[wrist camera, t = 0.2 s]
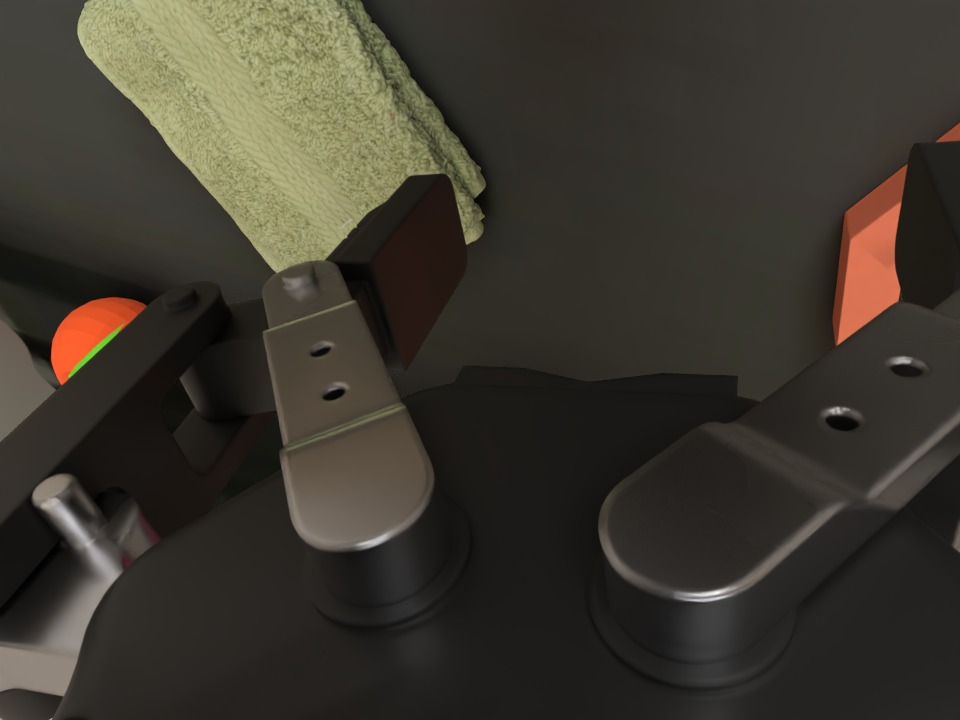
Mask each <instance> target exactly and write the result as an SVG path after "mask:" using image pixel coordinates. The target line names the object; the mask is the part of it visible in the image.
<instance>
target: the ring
mask: <svg viewBox="0 0 960 720" xmlns="http://www.w3.org/2000/svg"><path fill="white" fill-rule="evenodd" d="M946 141H960V123H959V124H957V125H956V126H955V127H954V128H952V129H951V130H950V131H948V132H947V133H946V134H945V135H943V136H942V137H941V138H940V139H938V140H937V141H936V142H946ZM907 165H908V164H906V165H905V166H904V167H902V168H901V169H900V170H899V171H897V172H896V173H895V174H893V175H892V176H891V177H890V178H888V179H887V180H886V181H885V182H883V183H882V184H881V185H879V186H878V187H877V188H876V189H874V190H873V191H872V192H870V193H869V194H868V195H867V196H865V197H864V198H863V199H861V200H860V201H859V202H858V203H856V204H855V205H854V206H853V207H851V208H850V209H849V210H847V211H846V212H845V216H844V225H843V233H842V242H841V250H840V259H839V268H838V276H837V285H836V293H835V302H834V310H833V319H832V322H833V330H834V338H835V346H837V345H838V344H840V343H841V342H842V341H844V340H845V339H846V338H848V337H849V336H850V335H852V334H853V333H854V332H856V331H857V330H858V329H860V328H861V327H862V326H864V325H865V324H866V323H868V322H869V321H871V320H872V319H873V318H875V317H876V316H877V315H879V314H880V313H881V312H883V311H884V310H885V309H887V308H888V307H889V306H891V305H892V304H894V303H896V302H898V301H899V295H900V285H899V282H898V278H897V274H896V270H895V239H896V232H897V226H898V220H899V214H900V207H901V201H902V195H903V189H904V183H905V177H906V171H907Z"/></svg>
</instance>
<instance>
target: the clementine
mask: <svg viewBox="0 0 960 720" xmlns="http://www.w3.org/2000/svg"><path fill="white" fill-rule="evenodd" d="M146 307H147V306H146V305H145V304H143V303H140V302H138V301H135V300H131V299H126V298H116V297H111V298H103V299H98V300H93V301H90V302H88V303H87V304H85V305H83V306H81V307H79V308H78V309H76V310H74V311H72V312H71V313H70V314H69V315H68V316H67V317H66V318H65V319H64V320H63V321H62V323H61V324H60V326H59V328H58V329H57V332H56V334H55V336H54V338H53V342H52V356H51V360H52V364H53V368H54V371H55V373H56V376H57V378H58V380H59V382H60V383H61V385H63V384H64V383H65V382H66V381H67V380H68V379H69V378H70V377H71V376H72V375H73V374H75V373H76V372H77V371H78V370H79V369H80V368H81V367H82V366H83V365H84V364H85V363H86V362H88V361H89V360H90V359H91V358H92V357H93V356H94V355H95V354H96V353H97V352H98V351H99V350H100V349H102V348H103V347H104V346H105V345H106V344H107V343H108V342H109V341H110V340H111V339H112V338H113V337H114V336H116V335H117V334H118V333H119V332H120V331H121V330H122V329H123V328H124V327H125V326H126V325H127V324H129V323H130V322H131V321H132V320H133V319H134V318H135V317H136V316H137V315H138V314H139V313H140V312H141V311H143V310H144V309H145V308H146Z"/></svg>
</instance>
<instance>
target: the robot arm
mask: <svg viewBox="0 0 960 720" xmlns="http://www.w3.org/2000/svg"><path fill="white" fill-rule="evenodd" d="M356 226H357V228H353V229H352V231H351V232H350V233H349V234H348V235H347V238H344V239H343V240H342V242H341V243H340V244H339V245H338V246H337V247H336V248H335V249H334V250H333V251H332V253H331V254H330V255H329V256H328V257H327V258H326V259H325V260H314V261H307V262H303V263H299V264H296V265H293V266H290V267H288V268H286V269H283V270H282V271H280V272H278V273H276V274H275V275H273V276H272V277H271V278H270V279H268V281H267V282H266V283H265V284H264V286H263V288H262V296H263V298H262V299H257V300H252V301H247V302H242V303H236V304H231V305H228V303H227V301H226V299H225V297H224V295H223V292H222V290H221V288H220V286H219V285H218V284H216V283H213V282H196V283H190V284H187V285H183V286H179V287H176V288H174V289H172V290H170V291H168V292H166V293H164V294H163V295H161V296H159V297H158V298H156V299H155V300H154V301H152V302H151V303H150V304H149V305H148V306H147V307H146V308H145V309H144V310H143V311H141V312H140V313H139V314H138V315H137V316H136V317H135V318H134V319H133V320H132V321H131V322H130V323H129V324H127V325H126V326H125V327H124V328H123V329H122V330H121V331H120V332H119V333H118V334H117V335H116V336H114V337H113V338H112V339H111V340H110V341H109V342H108V343H107V344H106V345H105V346H104V347H103V348H102V349H100V350H99V351H98V352H97V353H96V354H95V355H94V356H93V357H92V358H91V359H90V360H89V361H88V362H86V363H85V364H84V365H83V366H82V367H81V368H80V369H79V370H78V371H77V372H76V373H75V374H73V375H72V376H71V377H70V378H69V379H68V380H67V381H66V382H65V383H64V384H63V385H62V386H61V387H59V388H58V389H57V390H56V391H55V392H54V393H53V394H52V395H51V396H50V397H49V398H48V399H47V400H45V401H44V402H43V403H42V404H41V405H40V406H39V407H38V408H37V409H36V410H35V411H34V412H32V414H31V415H29V416H28V417H27V418H26V419H25V420H24V421H23V422H22V423H21V424H20V425H18V426H17V427H16V428H15V429H14V430H13V431H12V432H11V433H10V434H9V435H8V436H7V437H5V438H4V439H3V440H2V441H1V442H0V718H2V719H3V720H49V719H51V718H52V720H960V141H946V142H931V143H916V144H914V145H913V147H912V149H911V152H910V155H909V159H908V165H907V171H906V177H905V183H904V189H903V195H902V201H901V207H900V214H899V220H898V226H897V232H896V239H895V270H896V274H897V278H898V282H899V285H900V289H901V293H902V297H903V300H904V301H898V302H896V303H894V304H892V305H891V306H889V307H888V308H887V309H885V310H884V311H883V312H881V313H880V314H879V315H877V316H876V317H875V318H873V319H872V320H871V321H869V322H868V323H866V324H865V325H864V326H862V327H861V328H860V329H858V330H857V331H856V332H854V333H853V334H852V335H850V336H849V337H848V338H846V339H845V340H844V341H842V342H841V343H840V344H838V345H837V346H835V347H834V348H833V349H831V350H830V351H829V352H827V353H826V354H825V355H823V356H822V357H821V358H819V359H818V360H817V361H815V362H814V363H813V364H811V365H810V366H809V367H807V368H806V369H804V370H803V371H802V372H800V373H799V374H798V375H796V376H795V377H794V378H792V379H791V380H790V381H788V382H787V383H786V384H784V385H783V386H782V387H780V388H779V389H778V390H776V391H775V392H774V393H772V394H771V395H769V396H768V397H767V398H765V399H764V400H763V401H761V402H758V401H755V400H752V399H748V398H744V397H740V396H737V385H738V376H727V375H700V374H673V373H660V374H652V375H644V376H636V377H628V378H619V379H611V380H603V381H594V382H585V381H580V380H575V379H571V378H566V377H562V376H557V375H553V374H548V373H544V372H539V371H535V370H530V369H526V368H508V367H480V366H463V367H462V369H461V371H460V373H459V375H458V377H457V379H456V381H455V383H453V384H446V385H442V386H437V387H433V388H429V389H426V390H423V391H419V392H417V393H414V394H412V395H409V396H407V397H405V398H402V399H400V398H399V395H398V393H397V391H396V389H395V386H394V384H393V382H392V380H391V377H390V375H389V373H388V371H403V372H406V370H407V368H408V367H409V365H410V363H411V362H412V360H413V358H414V357H415V355H416V353H417V352H418V350H419V348H420V347H421V345H422V343H423V342H424V340H425V338H426V337H427V335H428V334H429V332H430V330H431V329H432V327H433V325H434V324H435V322H436V320H437V319H438V317H439V315H440V314H441V312H442V310H443V309H444V307H445V305H446V304H447V302H448V300H449V299H450V297H451V295H452V294H453V292H454V290H455V289H456V287H457V285H458V284H459V282H460V281H461V279H462V277H463V275H464V273H465V270H466V265H467V247H466V242H465V237H464V233H463V228H462V224H461V219H460V215H459V210H458V206H457V201H456V197H455V192H454V188H453V185H452V182H451V180H450V178H449V176H448V175H447V174H444V173H442V174H427V175H411V176H409V177H408V178H407V179H406V180H405V181H404V182H403V183H402V184H401V185H400V186H399V188H398V189H397V190H396V191H395V192H394V193H393V194H392V195H391V197H390V198H389V199H388V200H387V201H386V202H384V203H383V204H381V205H379V206H378V207H376V208H374V209H373V210H371V211H369V212H368V213H367V214H366V215H365V216H364V217H363V218H362V220H361V221H360V222H359V223H358V224H357V225H356ZM178 379H180V381H181V382H182V384H183V386H184V388H185V390H186V392H187V393H188V395H189V397H190V399H191V401H192V402H193V404H194V406H195V407H194V409H193V410H192V411H191V412H190V414H189V415H188V416H187V417H186V418H185V420H184V421H183V422H182V423H181V424H180V426H179V427H178V428H177V429H176V431H175V432H174V433H173V434H172V433H171V431H170V430H169V428H168V426H167V425H166V423H165V421H164V418H163V414H162V404H163V400H164V397H165V395H166V393H167V392H168V391H169V389H170V388H171V387H172V386H173V385H174V384H175V383H176V382H177V380H178ZM275 410H277V413H278V418H279V424H280V429H281V434H282V440H283V446H284V448H283V449H281V450H280V460H281V466H282V469H281V470H279V471H277V472H275V473H274V474H272V475H270V476H269V477H267V478H265V479H264V480H262V481H260V482H259V483H257V484H255V485H254V486H252V487H250V488H248V489H247V490H245V491H243V492H242V493H240V494H238V495H237V496H235V497H233V498H232V499H230V500H228V501H226V502H225V503H223V504H221V505H220V506H218V507H216V508H215V509H213V510H211V511H210V512H208V511H209V510H210V508H211V507H212V505H213V504H214V502H215V501H216V500H217V498H218V497H219V495H220V494H221V492H222V491H223V489H224V488H225V486H226V485H227V484H228V482H229V481H230V479H231V478H232V476H233V475H234V473H235V472H236V470H237V469H238V468H239V466H240V465H241V463H242V462H243V460H244V459H245V457H246V456H247V454H248V453H249V452H250V450H251V449H252V447H253V446H254V444H255V443H256V441H257V440H258V438H259V437H260V435H261V434H262V433H263V431H264V430H265V428H266V427H267V425H268V424H269V422H270V421H271V419H272V418H273V416H274V413H275Z"/></svg>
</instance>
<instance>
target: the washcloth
mask: <svg viewBox="0 0 960 720" xmlns="http://www.w3.org/2000/svg"><path fill="white" fill-rule="evenodd" d="M78 37H79V40H80V43H81V45H82V47H83V48H84V50H85V52H86V55H87V56H88V57H89V58H90V59H91V60H92V61H93V62H94V64H95V65H96V66H97V67H98V68H99V69H100V70H101V72H102V73H103V74H104V75H105V76H106V77H107V78H108V79H109V80H110V81H111V82H112V83H113V84H114V86H116V87H117V88H118V89H119V90H120V91H121V92H122V93H123V94H124V95H125V96H126V97H127V98H129V99H130V100H131V101H132V102H133V103H134V104H135V105H136V106H137V107H138V108H139V109H140V110H141V111H142V112H143V113H144V115H145V116H146V117H147V118H148V119H149V120H150V123H151V124H152V125H153V126H154V127H156V129H157V130H158V131H159V133H160V134H161V135H162V137H163V139H164V140H165V142H166V143H167V145H168V146H169V147H170V149H171V150H172V151H173V153H174V154H175V155H176V156H177V157H178V158H179V159H180V160H181V161H182V162H183V163H184V164H185V165H186V166H187V167H188V168H189V169H190V170H191V172H192V173H193V174H194V175H195V176H196V177H197V179H198V180H199V181H200V182H201V183H202V184H203V186H204V187H205V188H206V189H207V190H208V191H209V192H210V193H211V194H212V195H213V196H214V198H215V199H216V200H217V201H218V202H219V203H220V204H221V205H222V206H223V208H224V209H225V210H226V211H227V212H228V213H229V214H230V216H231V217H232V218H233V219H234V221H235V222H236V224H237V225H238V226H239V228H240V229H241V231H242V232H243V233H244V234H245V235H246V236H247V237H248V239H249V240H250V241H251V242H252V244H253V245H254V247H255V248H256V249H257V251H258V252H259V253H260V254H261V255H262V257H263V258H264V260H265V261H266V262H267V263H268V264H269V265H270V267H271V268H272V269H273V270H274V271H275V272H276V273H278V272H280V271H282V270H283V269H286V268H288V267H290V266H293V265H296V264H299V263H303V262H307V261H314V260H325V259H326V258H327V257H328V256H329V255H330V254H331V253H332V251H333V250H334V249H335V248H336V247H337V246H338V245H339V244H340V243H341V242H342V240H343V239H344V238H347V235H348V234H349V233H350V232H351V231H352V229H353V228H357V226H356V225H357V224H358V223H359V222H360V221H361V220H362V218H363V217H364V216H365V215H366V214H367V213H368V212H369V211H371V210H373V209H374V208H376V207H378V206H379V205H381V204H383V203H384V202H386V201H387V200H388V199H389V198H390V197H391V195H392V194H393V193H394V192H395V191H396V190H397V189H398V188H399V186H400V185H401V184H402V183H403V182H404V181H405V180H406V179H407V178H408V177H409V176H411V175H427V174H442V173H444V174H447V175H448V176H449V178H450V180H451V182H452V185H453V188H454V192H455V197H456V201H457V206H458V210H459V215H460V219H461V224H462V228H463V233H464V237H465V242H466V245H467V244H469V243H470V242H473V241H476V240H477V239H478V238H479V237H480V236H481V235H482V233H483V231H484V226H483V224H482V222H481V219H483V218H484V217H485V216H484V215H483V214H482V212H481V208H480V207H479V206H478V204H476V203H474V200H473V199H474V198H476V197H477V196H478V195H479V194H480V193H481V192H482V191H483V190H484V188H485V187H486V182H485V180H484V178H483V176H482V175H481V173H480V171H481V167H479V166H477V165H476V164H475V162H474V161H473V160H472V159H471V158H470V156H469V155H468V152H467V150H466V149H465V148H464V146H463V145H462V144H461V143H460V140H459V138H458V137H456V135H455V134H454V133H453V132H452V131H450V130H449V128H448V126H447V125H446V124H445V123H444V118H443V117H442V113H441V112H440V111H439V110H438V108H437V107H436V106H435V105H434V103H433V101H432V100H431V99H430V98H428V97H427V96H426V95H425V93H424V91H423V90H422V89H421V88H420V87H419V86H418V84H417V83H416V81H415V80H413V79H412V78H411V76H410V71H409V69H408V67H407V65H406V64H405V63H404V62H403V61H402V60H401V59H400V55H399V54H398V53H397V51H396V50H395V48H393V47H392V46H391V45H390V41H389V40H387V39H386V37H385V34H384V33H383V32H381V30H380V29H379V27H378V26H377V25H376V24H375V23H372V22H371V17H370V15H368V14H367V13H366V11H365V9H364V6H363V3H362V2H361V1H360V0H89V1H88V2H87V3H85V7H84V9H83V11H82V12H81V16H80V18H79V22H78Z"/></svg>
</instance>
